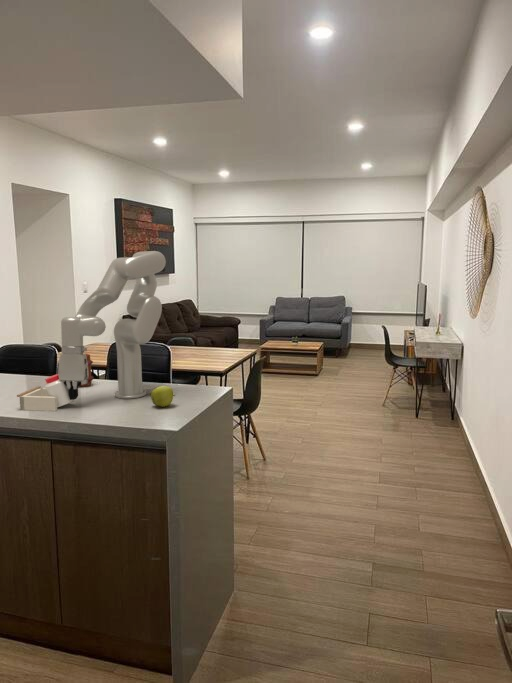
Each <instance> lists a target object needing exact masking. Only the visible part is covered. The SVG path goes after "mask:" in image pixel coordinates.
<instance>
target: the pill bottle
mask: <svg viewBox="0 0 512 683" xmlns="http://www.w3.org/2000/svg"><path fill="white" fill-rule="evenodd" d="M45 382H46V384H45V385H44V388H45V389H46V391H47V393H48V396H49V397H57V408H59V407H63V406H66V405H67V404H69V403H72V402H71V401H73V402H74V400H73V399H72V400H70V397H69V389H68V388H67V386H66V385H65V384H64V381H62V380H60V379H59V378H58V373H56V374H54V375H53V374H52V375H51V376H49V377H47V378H45Z"/></svg>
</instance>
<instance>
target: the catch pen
mask: <svg viewBox="0 0 512 683" xmlns="http://www.w3.org/2000/svg"><path fill="white" fill-rule="evenodd" d="M16 397H17V398H19V410H20V411H35V412H36V411H38V412H39V411H41V412H56V411H58V407H57V397H49V396H48V393H47V391H46V389H45V387H42V386H40V385H38V386H35V387H32V388H30V389H28V390H25V391H24V392H21V393H19V394H17V395H16ZM73 402H74V400H73V401H71V402H70V403H73Z"/></svg>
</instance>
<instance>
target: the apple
mask: <svg viewBox="0 0 512 683" xmlns="http://www.w3.org/2000/svg"><path fill="white" fill-rule="evenodd" d="M175 396H176V394H175V393H174V390H173V389H172V388H171V387H170V386H167V385H160V386H158V387H156V388H153V390H151V392H150V398H151V402H152V403H153V405H155V406H157V407H161V408H166V407H168V406H170V405H171V404H172V402H173V400H174V397H175ZM165 406H166V407H165Z"/></svg>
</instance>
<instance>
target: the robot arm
mask: <svg viewBox="0 0 512 683" xmlns="http://www.w3.org/2000/svg"><path fill="white" fill-rule="evenodd" d="M166 263H167V260H166V257H165V255H164V254H163V253H162V252H160V251H156V250H150V251H147V250H144V251H138V252H134V254H132V257H129V256H128V257H126V256H125V257H117V258H115V259H113V260H112V262H111V263H110V265H109V266H108V268H107V271H106V272H105V274H104V276H103V278H102V280H101V282H100V283H99V285H98V287H97V288H96V290H94V291H93V292H92V294H90V295H89V296H88V297H87V298H86V299H85V300H84V301H83V303H82V304H81V306H80V307H79V309H78V311H77V313H76V314H75V315H74V316H67V317H63V318H61V320H60V323H61V325H60V326H61V327H60V329H61V334H60V335H61V337H60V338H61V353H60V354H59V359H58V368H57V370H58V371H57V374H58V378H59V379H60V380H62V381H64V384H65V385H66V386H67V388H68V389H69V397H70V400H72V399H73V401H74V400H76V399H78V397H79V388H81V387H80V386H81V385H83V384H86V383H88V381H87V378H88V376H89V373H88V363H87V358H86V354H87V353H84V352H87V351H88V348H87V347H85V346H84V337H85V336H87V337H98V336H101V335H103V334H104V332H105V331H106V327H107V326H106V323H105V321H104V319H102V318H100V317H99V316H97V315H98V314H99V313H100V311H101V310H103V309H104V308H105V307H107V306H109V305H111V304H113V303H114V302H116V301H118V299H119V298H120V295H121V294H122V291H123V289H124V288H125V286H126V284H127V282H128V280H136V281H135V284H134V288H133V289H132V293H131V295H130V297H129V300H128V302H127V305H126V312H127V313H128V315H129V316H131V317H133V318H123V319H120V320H118V321H117V322H116V323H115V325H114V327H113V335H114V336H113V337H114V341H115V345H116V358H117V359H116V360H117V362H116V363H117V364H116V365H117V388H118V391H115V392H114V397H115V398H118V399H127V400H128V399H139V398H142V397H145V396H146V395H147V391H153V390H154V385H150V384H147V385H145V384H144V383H143V375H142V374H143V373H142V371H143V370H142V352H141V351H142V350H141V345H145V344H147V343H148V342H150V340H151V339H152V337H153V335H154V333H155V331H156V328H157V327H158V326H157V325H158V322H160V321H159V320H160V318H161V316H162V313H163V312H162V311H163V306H162V302H161V300H160V299H159V298H158V297H156V296H155V293H156V291H157V290H156V289H157V286H158V285H157V284H158V282H157V278H156V275H155V274H157V273H160V272H162V271H163V270H164V268H165V267H166Z"/></svg>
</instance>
